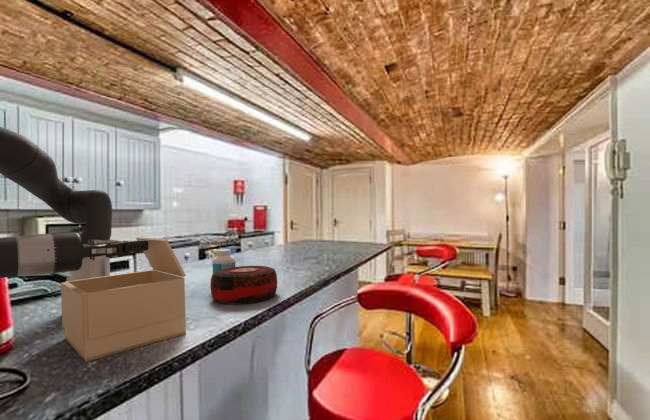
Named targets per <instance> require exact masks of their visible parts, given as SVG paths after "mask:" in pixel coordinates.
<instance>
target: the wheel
mask: <svg viewBox="0 0 650 420" xmlns="http://www.w3.org/2000/svg"><path fill="white" fill-rule="evenodd" d="M277 289H278V274H277V271H276V269H275V268H273V267H270V266H267V265H266V266H265V265H243V266H242V265H240V266H235V267H231V268H225V269H221V270H218V271H216V272H214V273H213V272H212V275H211V277H210V293H211V297H212V298H213V301H215V302H216V303H217V302H218V303H220V304H225V305H246V304H247V305H248V304H254V303H259V302H263V301H266V300H269V299H271V298H272V297H275V296H276V293H277Z"/></svg>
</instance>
